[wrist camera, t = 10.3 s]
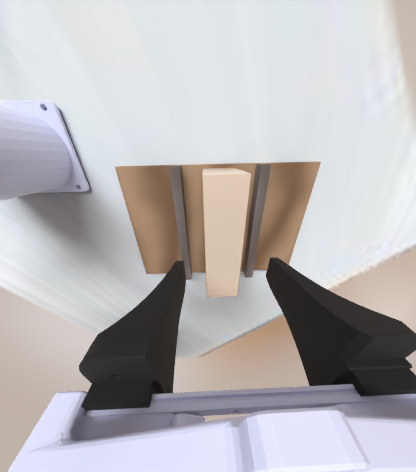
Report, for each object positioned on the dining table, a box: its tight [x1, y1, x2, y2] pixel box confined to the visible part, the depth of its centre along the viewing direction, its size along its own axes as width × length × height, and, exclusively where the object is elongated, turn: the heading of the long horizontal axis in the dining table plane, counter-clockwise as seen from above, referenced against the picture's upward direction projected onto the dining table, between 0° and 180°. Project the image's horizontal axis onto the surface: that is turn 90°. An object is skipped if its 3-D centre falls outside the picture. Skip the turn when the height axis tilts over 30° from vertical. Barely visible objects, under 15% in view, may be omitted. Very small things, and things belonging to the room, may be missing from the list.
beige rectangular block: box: [202, 168, 251, 297], centre depth 16 cm, size 4×13×6 cm, turn 1°
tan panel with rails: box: [115, 162, 321, 280], centre depth 19 cm, size 22×15×2 cm
